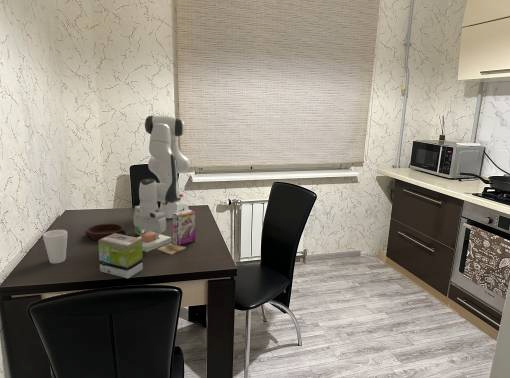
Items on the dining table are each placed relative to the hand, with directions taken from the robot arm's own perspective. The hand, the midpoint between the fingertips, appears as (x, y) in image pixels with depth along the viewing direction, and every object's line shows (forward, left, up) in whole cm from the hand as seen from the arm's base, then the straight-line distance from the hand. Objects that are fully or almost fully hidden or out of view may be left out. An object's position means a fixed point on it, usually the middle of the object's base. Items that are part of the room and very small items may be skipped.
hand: (149, 237), depth 185 cm
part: (0, 0, -4) cm, 4 cm away
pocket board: (0, 0, -4) cm, 4 cm away
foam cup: (+38, -18, -4) cm, 42 cm away
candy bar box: (-12, +13, -4) cm, 18 cm away
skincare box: (-9, -14, -4) cm, 17 cm away
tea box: (+29, +14, -4) cm, 32 cm away
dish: (+6, -27, -4) cm, 28 cm away
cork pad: (-1, +14, -4) cm, 14 cm away
